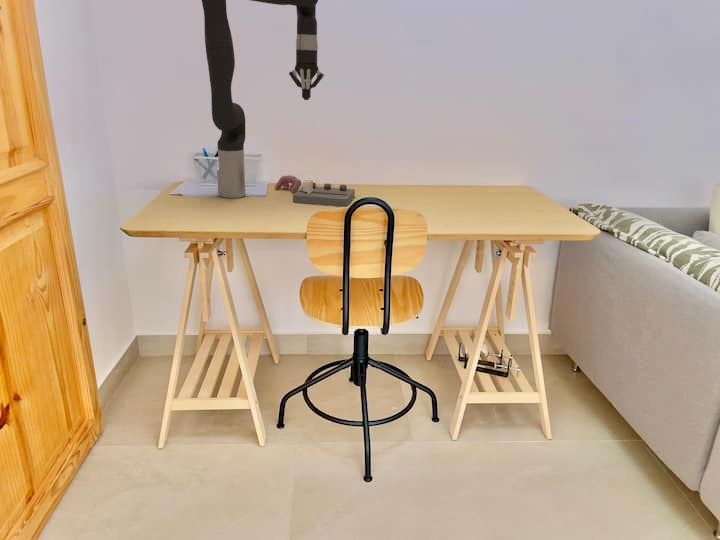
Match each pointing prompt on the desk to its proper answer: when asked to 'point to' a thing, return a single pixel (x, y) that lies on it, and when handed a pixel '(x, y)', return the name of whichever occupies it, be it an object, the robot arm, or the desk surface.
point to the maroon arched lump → (285, 182)
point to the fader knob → (307, 185)
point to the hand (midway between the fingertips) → (306, 99)
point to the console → (325, 195)
